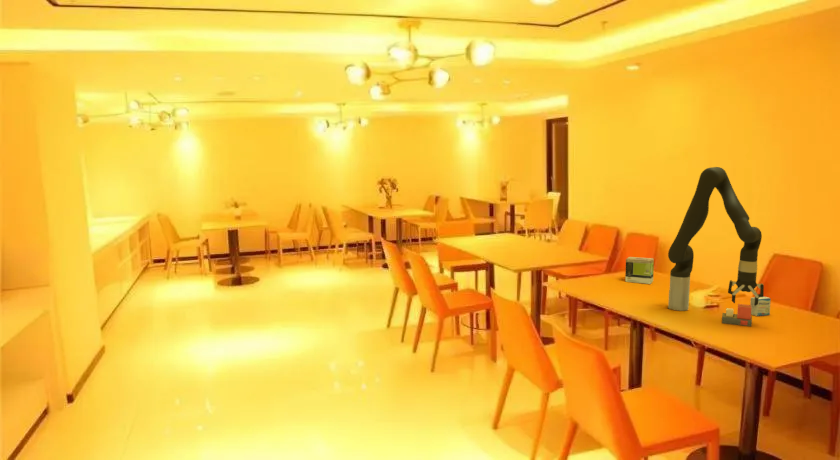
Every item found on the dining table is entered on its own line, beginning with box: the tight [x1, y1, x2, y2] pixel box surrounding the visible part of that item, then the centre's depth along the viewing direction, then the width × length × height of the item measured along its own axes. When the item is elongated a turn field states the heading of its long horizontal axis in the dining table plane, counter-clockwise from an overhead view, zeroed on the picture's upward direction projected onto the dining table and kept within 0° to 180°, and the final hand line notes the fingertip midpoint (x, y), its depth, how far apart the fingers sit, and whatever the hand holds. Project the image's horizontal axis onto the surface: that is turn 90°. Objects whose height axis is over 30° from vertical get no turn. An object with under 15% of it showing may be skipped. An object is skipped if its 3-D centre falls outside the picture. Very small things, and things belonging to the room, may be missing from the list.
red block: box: [736, 303, 752, 320], centre depth 262 cm, size 5×5×6 cm
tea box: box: [624, 256, 655, 285], centre depth 350 cm, size 15×10×15 cm, turn 58°
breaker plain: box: [725, 307, 734, 317], centre depth 265 cm, size 3×3×4 cm
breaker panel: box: [721, 312, 753, 327], centre depth 264 cm, size 12×8×3 cm
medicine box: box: [749, 295, 772, 317], centre depth 276 cm, size 8×4×9 cm, turn 105°
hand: (744, 304), depth 262 cm, fingers open, 8 cm apart
